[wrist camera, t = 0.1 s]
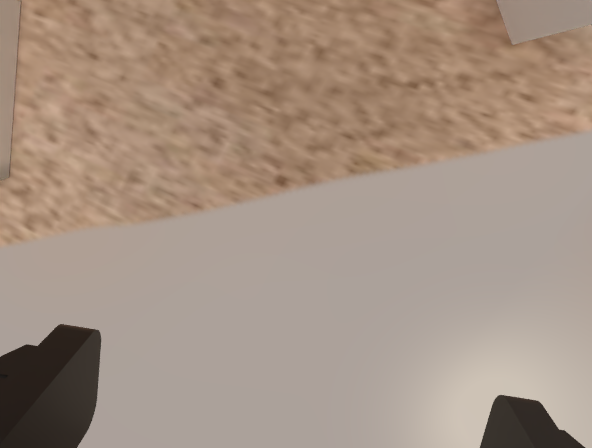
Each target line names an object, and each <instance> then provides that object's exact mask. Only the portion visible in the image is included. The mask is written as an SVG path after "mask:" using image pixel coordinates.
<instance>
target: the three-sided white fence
mask: <svg viewBox="0 0 592 448" xmlns="http://www.w3.org/2000/svg"><path fill="white" fill-rule="evenodd" d="M20 6H21V1H18V0H0V180H3V179H6V178H9V170H10V155H11V140H12V125H13V110H14V95H15V80H16V66H17V51H18V36H19V21H20Z"/></svg>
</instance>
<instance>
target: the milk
mask: <svg viewBox="0 0 592 448" xmlns="http://www.w3.org/2000/svg"><path fill="white" fill-rule="evenodd" d="M496 1H497V4H498V7H499V10H500V12H501V15H502V18H503V21H504V24H505V26H506V29H507V32H508V35H509V38H510V40H511V43H512V45H514V44H518V43H522V42H526V41H530V40H534V39H538V38H542V37H546V36H550V35H553V34H557V33H561V32H565V31H569V30H573V29H577V28H581V27H585V26H589V25H592V0H496Z"/></svg>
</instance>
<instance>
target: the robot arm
mask: <svg viewBox="0 0 592 448" xmlns="http://www.w3.org/2000/svg"><path fill="white" fill-rule="evenodd" d="M100 349H101V335H100V332H99V330H95V329H89V328H83V327H76V326H70V325H64V324H60V325H58V326H57V327H56V328H55V329H54V330H53V331H52V332H51V333H50V334H49V335H48V336H47V337H46V338H45V339H44V340H43V341H42V342H41V343H40V344H39V345H38V346H33V345H24V346H22V347H20V348H18V349H16V350H14V351H11V352H9V353H7V354H5V355H3V356H1V357H0V448H77V447H78V445H79V443H80V442H81V440H82V439H83V437H84V435H85V434H86V432H87V430H88V428H89V426H90V424H91V421H92V418H93V415H94V411H95V407H96V401H97V389H98V377H99V362H100ZM480 448H585V447H584V446H582V445H581V444H580V443H579V442H578V441H576V440H575V439H574V438H573V437H572V436H570V435H569V434H568V433H567V432H566V431H564V430H559V429H558V427H557V426H556V425H555V423H554V422H553V420H552V419H551V417H550V416H549V414H548V413H547V411H546V410H545V408H544V407H543V405H542V404H541V403H540V402H539V401H536V400H530V399H524V398H517V397H511V396H504V395H499V396H498V397H497V398H496V399H495V401H494V402H493V405H492V408H491V412H490V415H489V418H488V422H487V425H486V429H485V432H484V436H483V439H482V442H481V446H480Z"/></svg>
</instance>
